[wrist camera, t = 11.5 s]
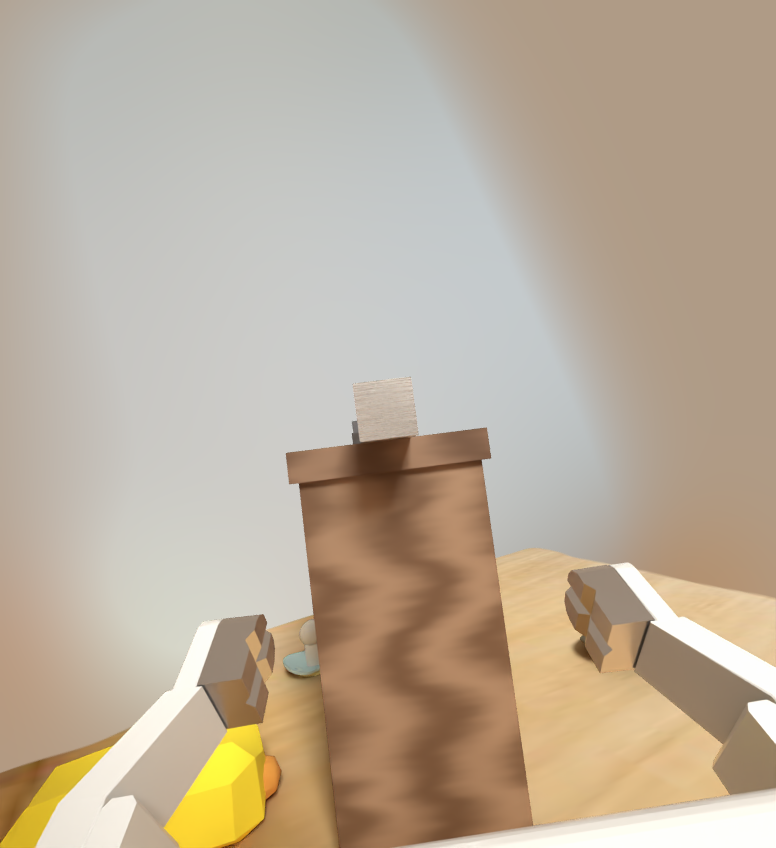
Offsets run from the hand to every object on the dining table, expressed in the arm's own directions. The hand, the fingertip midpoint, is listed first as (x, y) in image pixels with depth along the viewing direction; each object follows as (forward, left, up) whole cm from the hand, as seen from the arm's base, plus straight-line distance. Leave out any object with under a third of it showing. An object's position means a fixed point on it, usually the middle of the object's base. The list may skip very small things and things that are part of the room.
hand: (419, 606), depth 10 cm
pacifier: (-12, +37, -22) cm, 45 cm away
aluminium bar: (0, +21, +5) cm, 22 cm away
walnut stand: (0, +25, -21) cm, 33 cm away
